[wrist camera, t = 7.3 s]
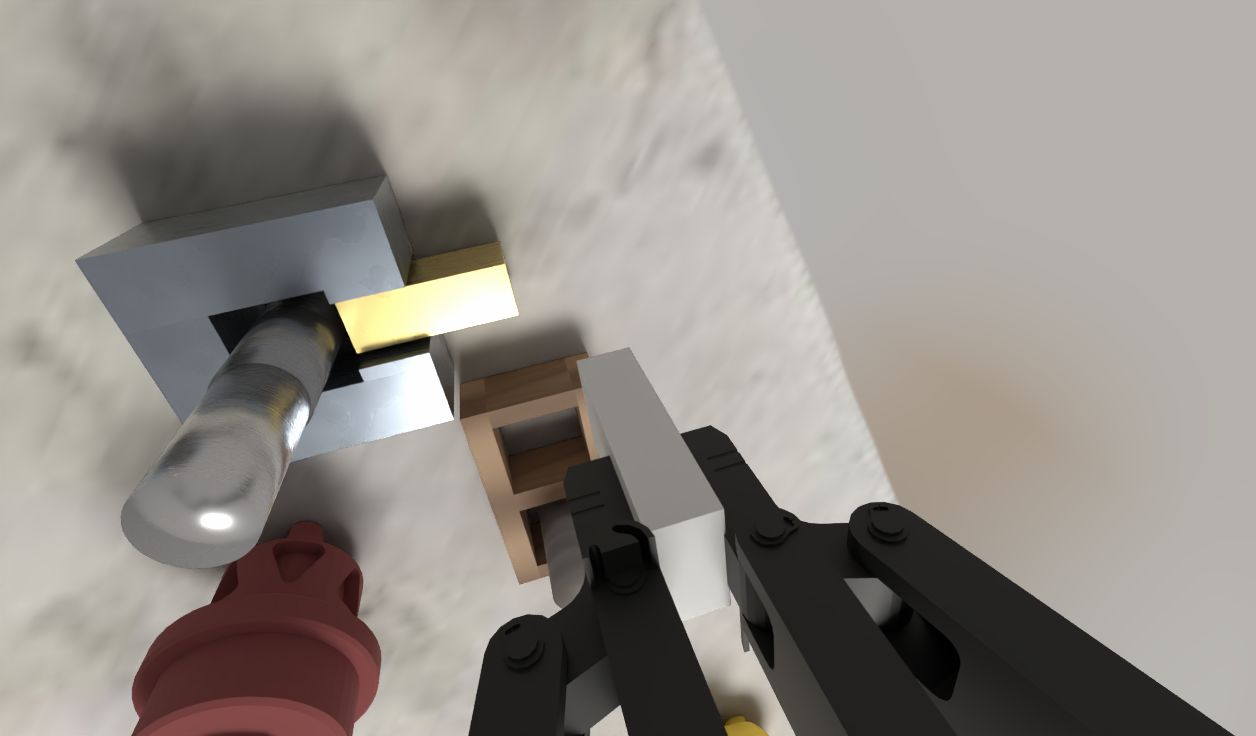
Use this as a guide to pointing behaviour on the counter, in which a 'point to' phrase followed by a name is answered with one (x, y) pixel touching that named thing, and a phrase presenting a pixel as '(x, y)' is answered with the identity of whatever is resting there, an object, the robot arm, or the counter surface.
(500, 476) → the frame
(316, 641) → the mechanical component
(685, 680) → the robot arm
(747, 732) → the teapot
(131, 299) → the socket block
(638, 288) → the counter surface
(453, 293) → the bar
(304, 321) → the grey cylindrical peg
